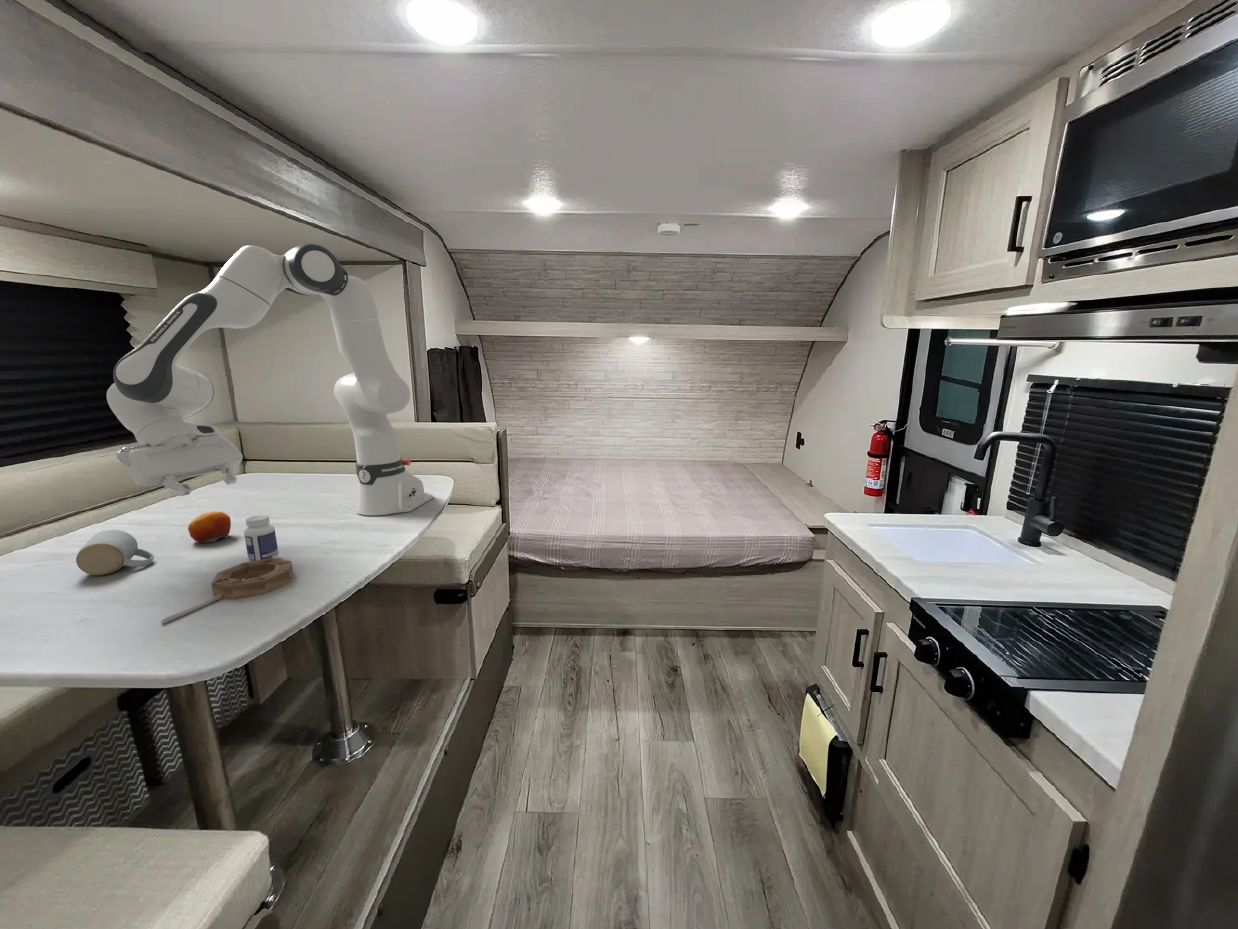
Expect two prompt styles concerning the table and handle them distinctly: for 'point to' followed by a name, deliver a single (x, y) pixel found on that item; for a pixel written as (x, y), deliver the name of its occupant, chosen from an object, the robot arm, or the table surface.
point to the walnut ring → (235, 587)
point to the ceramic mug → (111, 553)
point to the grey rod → (190, 609)
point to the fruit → (210, 527)
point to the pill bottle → (260, 539)
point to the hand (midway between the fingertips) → (210, 487)
